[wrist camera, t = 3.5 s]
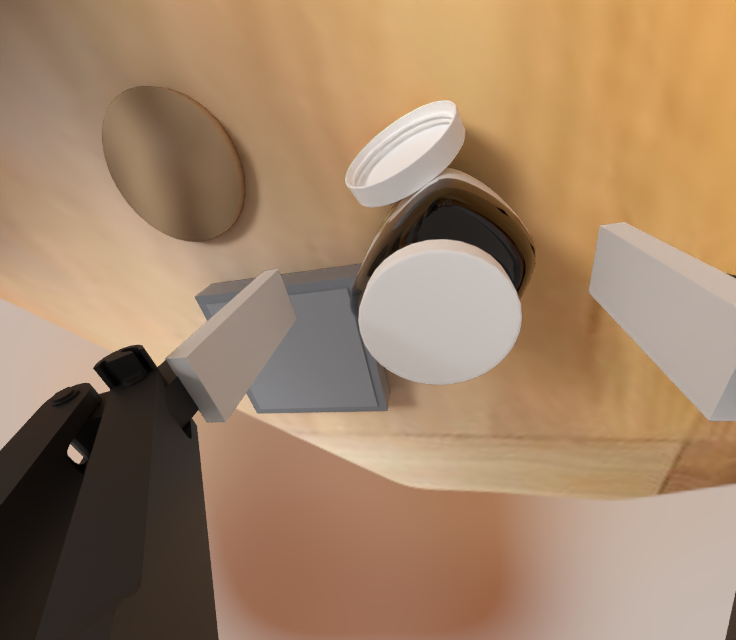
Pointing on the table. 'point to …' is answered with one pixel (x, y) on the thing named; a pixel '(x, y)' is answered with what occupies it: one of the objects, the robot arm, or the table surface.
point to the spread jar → (436, 255)
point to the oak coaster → (173, 163)
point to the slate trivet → (313, 348)
